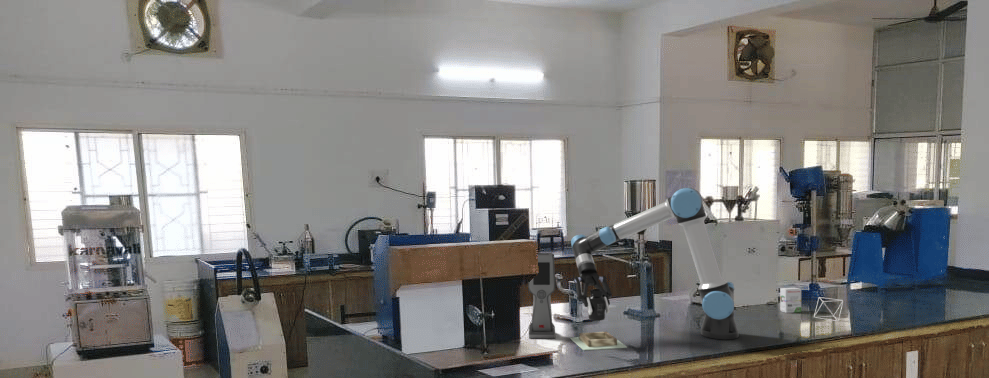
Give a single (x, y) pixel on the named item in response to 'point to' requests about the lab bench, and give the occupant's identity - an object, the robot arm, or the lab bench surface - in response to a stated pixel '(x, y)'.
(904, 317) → the lab bench surface
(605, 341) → the wooden square frame
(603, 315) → the supplement bottle
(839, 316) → the geometric polyhedron
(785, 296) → the ink box
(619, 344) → the mat
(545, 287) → the thermal camera
